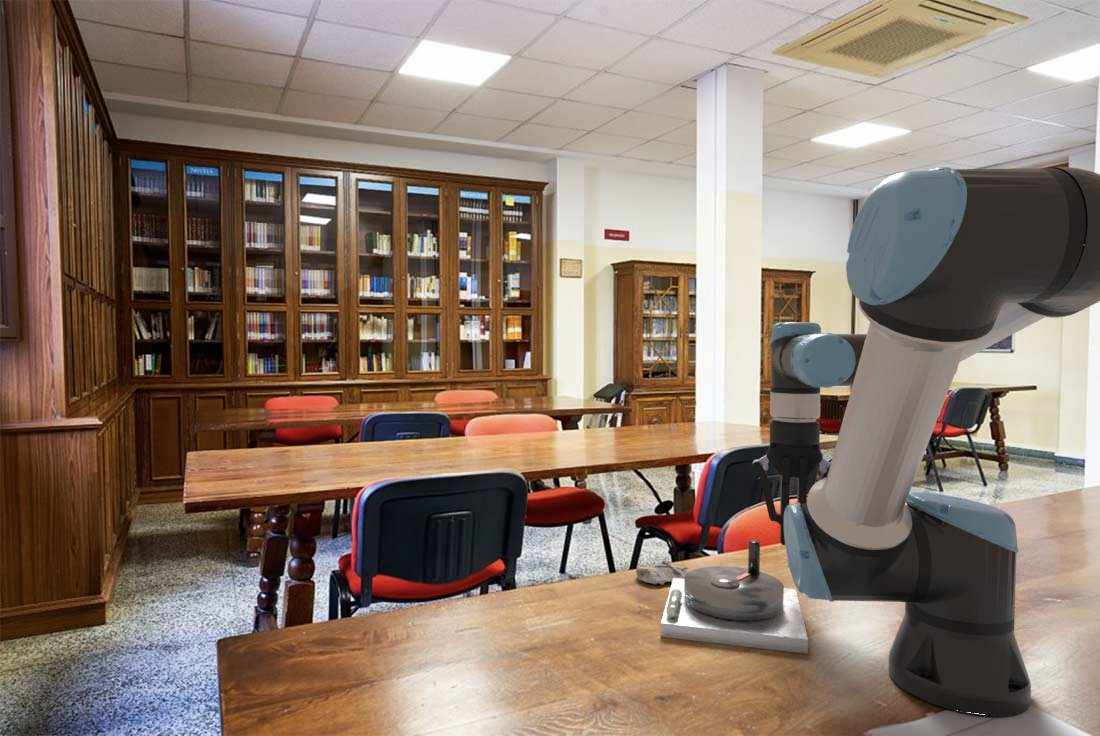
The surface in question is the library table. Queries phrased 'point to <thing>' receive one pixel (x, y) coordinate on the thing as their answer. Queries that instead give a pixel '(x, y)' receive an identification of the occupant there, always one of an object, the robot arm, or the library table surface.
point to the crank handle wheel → (735, 590)
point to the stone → (661, 573)
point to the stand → (735, 625)
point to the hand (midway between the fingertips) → (792, 565)
